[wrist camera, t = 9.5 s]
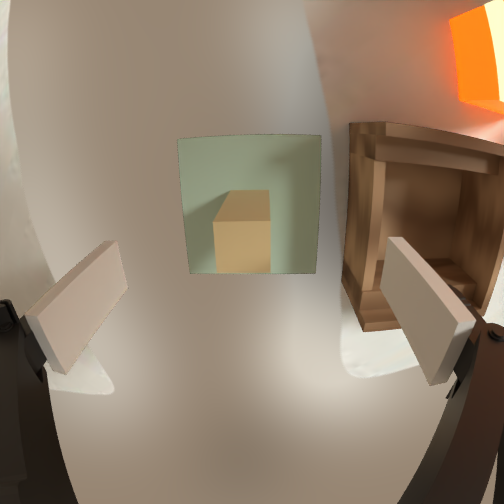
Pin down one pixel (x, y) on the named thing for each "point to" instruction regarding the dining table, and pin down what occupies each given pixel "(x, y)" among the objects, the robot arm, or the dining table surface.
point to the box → (422, 212)
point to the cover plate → (251, 172)
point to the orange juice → (480, 55)
